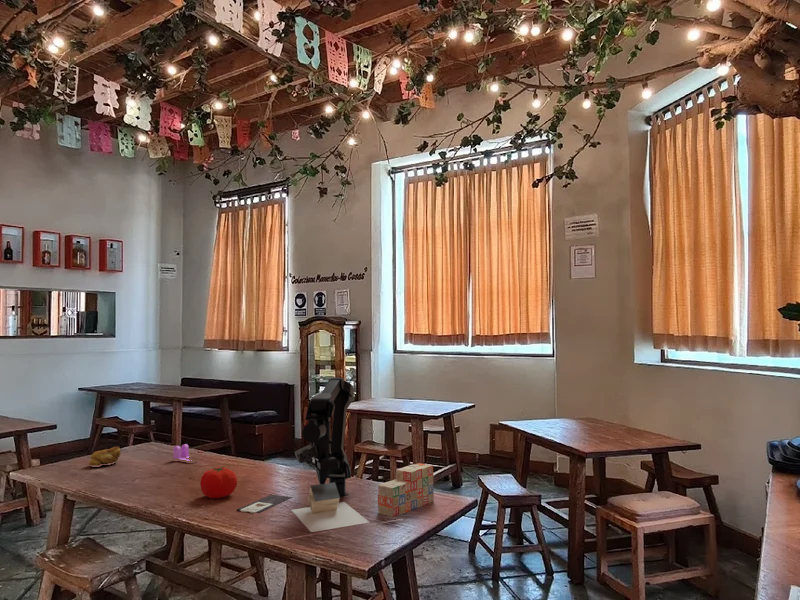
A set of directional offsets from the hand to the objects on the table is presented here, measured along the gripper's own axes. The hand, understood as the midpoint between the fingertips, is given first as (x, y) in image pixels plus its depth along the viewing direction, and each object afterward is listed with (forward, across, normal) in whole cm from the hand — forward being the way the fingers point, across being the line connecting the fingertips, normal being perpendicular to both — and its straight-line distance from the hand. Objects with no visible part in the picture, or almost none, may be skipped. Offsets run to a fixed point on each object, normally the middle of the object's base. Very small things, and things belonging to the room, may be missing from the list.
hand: (321, 485), depth 185 cm
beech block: (+6, 0, 0) cm, 6 cm away
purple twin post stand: (+8, -98, -33) cm, 104 cm away
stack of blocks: (+8, +9, +26) cm, 29 cm away
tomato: (+8, -33, -28) cm, 44 cm away
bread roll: (+8, -108, -68) cm, 128 cm away
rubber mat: (+8, +7, 0) cm, 11 cm away
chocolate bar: (+9, -16, -15) cm, 23 cm away
